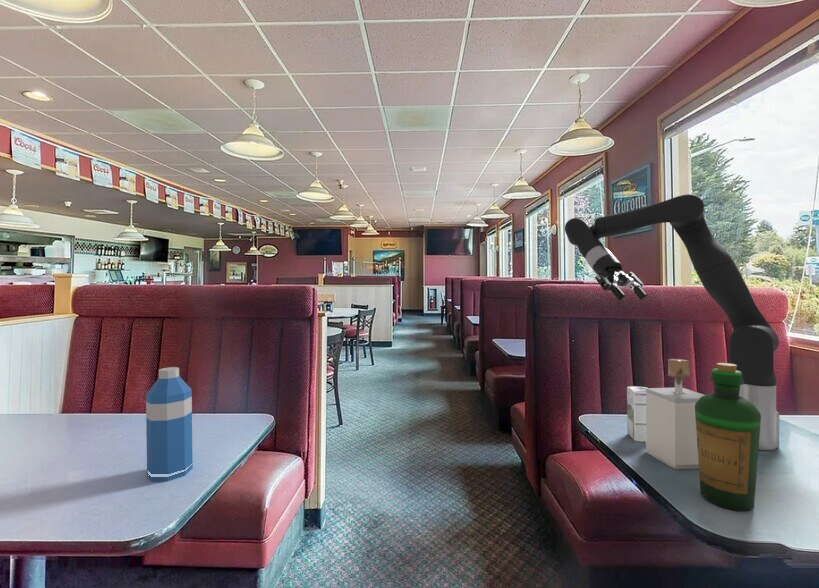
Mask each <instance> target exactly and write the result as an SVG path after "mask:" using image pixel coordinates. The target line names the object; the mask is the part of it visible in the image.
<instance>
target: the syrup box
mask: <svg viewBox="0 0 819 588" xmlns="http://www.w3.org/2000/svg"><path fill="white" fill-rule="evenodd" d="M646 388H648V387H646V386H640V385H639V386H636V385H634V386H633V385H631V386H627V387H626V398H627V399H626V400H627V401H626V403H627V404H626V407H627V409H626V410H627V411H626V412H627V415H626V419H627V425H626V426H627V435H628V436H629V437H630V438H631V439H632V440H633V441H634V442H640V443H646Z"/></svg>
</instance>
